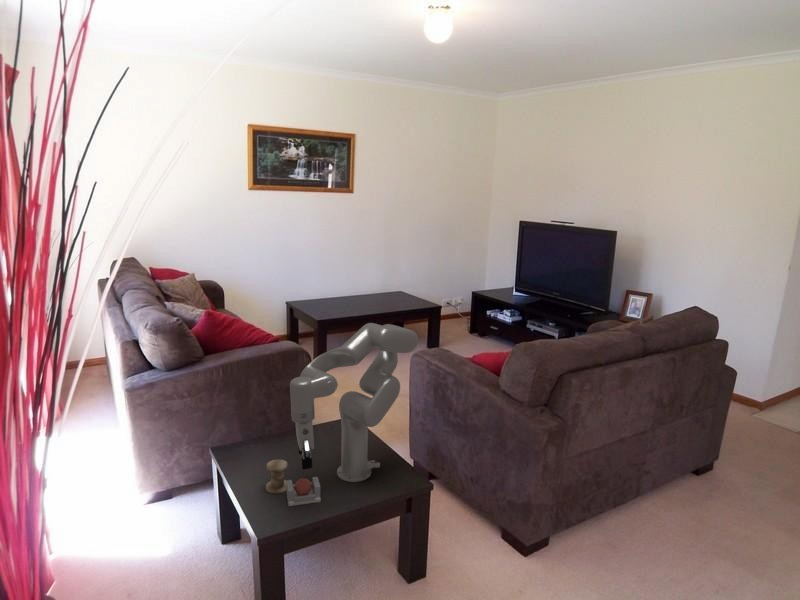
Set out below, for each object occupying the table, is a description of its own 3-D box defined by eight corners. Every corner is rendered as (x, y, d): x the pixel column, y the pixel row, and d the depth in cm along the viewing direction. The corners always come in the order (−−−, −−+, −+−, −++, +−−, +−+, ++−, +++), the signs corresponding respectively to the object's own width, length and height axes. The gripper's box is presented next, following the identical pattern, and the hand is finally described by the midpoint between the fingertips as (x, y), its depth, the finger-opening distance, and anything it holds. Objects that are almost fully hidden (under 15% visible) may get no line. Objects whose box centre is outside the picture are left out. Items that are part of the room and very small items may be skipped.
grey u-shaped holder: (317, 487, 190) (317, 475, 189) (320, 501, 182) (320, 488, 181) (286, 492, 187) (286, 478, 186) (288, 506, 179) (288, 492, 178)
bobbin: (288, 479, 194) (287, 457, 193) (290, 491, 187) (289, 468, 185) (265, 482, 192) (264, 460, 190) (266, 495, 185) (265, 471, 183)
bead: (310, 488, 188) (309, 474, 186) (312, 497, 182) (312, 482, 181) (294, 490, 186) (293, 476, 185) (295, 499, 181) (295, 484, 180)
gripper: (318, 424, 171) (320, 472, 175) (310, 401, 187) (313, 446, 191) (294, 427, 169) (297, 476, 173) (288, 404, 185) (291, 449, 189)
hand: (305, 460), depth 182 cm, fingers open, 9 cm apart
